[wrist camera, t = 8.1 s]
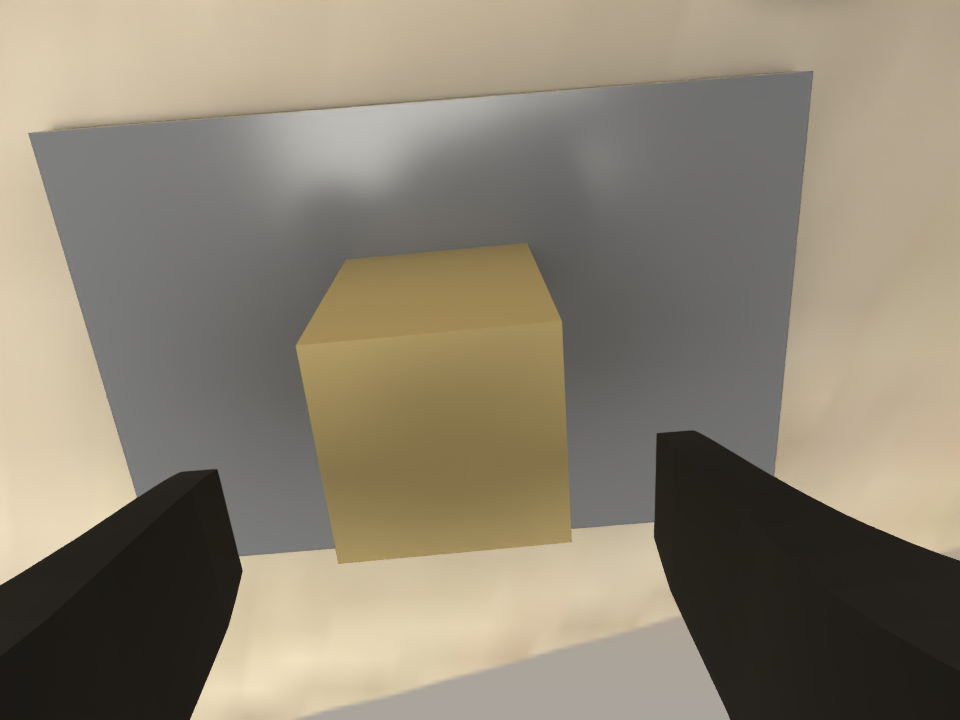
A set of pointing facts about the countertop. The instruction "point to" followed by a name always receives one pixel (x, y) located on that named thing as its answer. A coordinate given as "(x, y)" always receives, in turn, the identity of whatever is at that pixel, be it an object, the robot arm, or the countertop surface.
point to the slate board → (428, 228)
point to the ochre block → (439, 404)
